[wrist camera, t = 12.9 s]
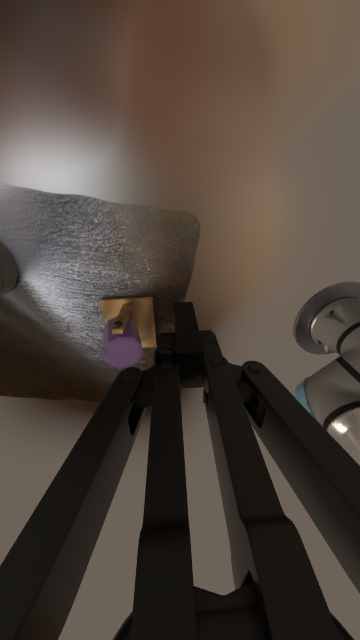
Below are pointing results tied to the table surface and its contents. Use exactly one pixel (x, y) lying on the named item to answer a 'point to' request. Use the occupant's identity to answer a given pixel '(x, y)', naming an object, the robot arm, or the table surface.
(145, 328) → the swivel stand
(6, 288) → the vase
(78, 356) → the table surface
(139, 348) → the cup
